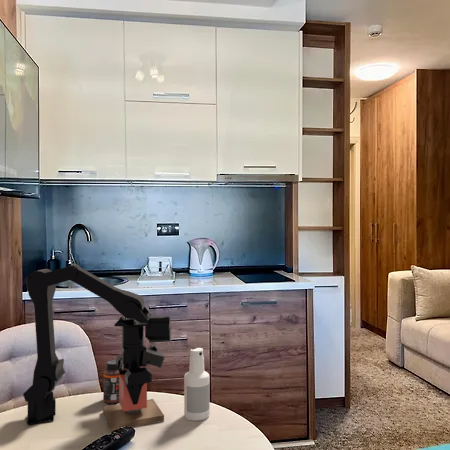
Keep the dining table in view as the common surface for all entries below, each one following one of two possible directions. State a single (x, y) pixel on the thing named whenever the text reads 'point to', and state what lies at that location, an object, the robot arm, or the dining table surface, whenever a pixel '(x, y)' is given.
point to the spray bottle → (196, 388)
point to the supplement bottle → (111, 383)
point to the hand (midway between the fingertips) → (132, 399)
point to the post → (133, 411)
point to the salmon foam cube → (126, 399)
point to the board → (132, 416)
